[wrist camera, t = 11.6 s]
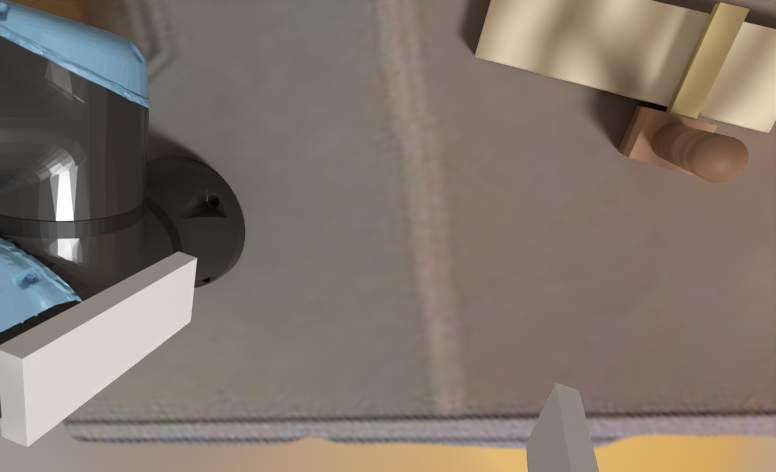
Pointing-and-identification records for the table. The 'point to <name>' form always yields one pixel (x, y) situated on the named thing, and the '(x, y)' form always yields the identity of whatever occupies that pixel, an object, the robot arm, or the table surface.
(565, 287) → the table surface
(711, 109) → the board
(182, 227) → the robot arm
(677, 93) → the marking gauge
